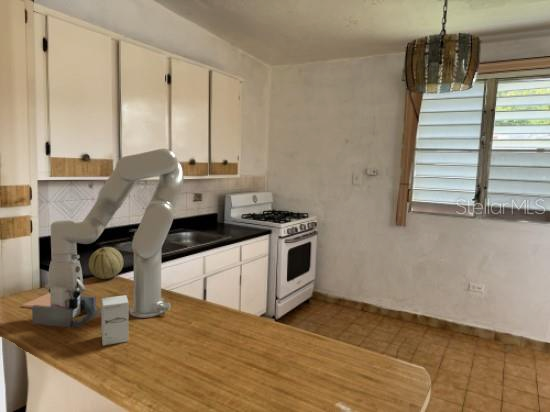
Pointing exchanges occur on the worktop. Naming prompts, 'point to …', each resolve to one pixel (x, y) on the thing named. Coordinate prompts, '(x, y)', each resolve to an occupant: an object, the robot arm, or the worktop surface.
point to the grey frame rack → (65, 313)
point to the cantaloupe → (106, 263)
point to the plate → (39, 301)
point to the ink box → (62, 299)
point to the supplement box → (114, 319)
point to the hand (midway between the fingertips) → (65, 308)
